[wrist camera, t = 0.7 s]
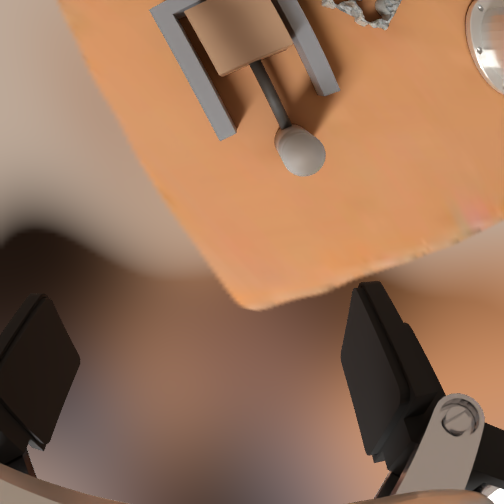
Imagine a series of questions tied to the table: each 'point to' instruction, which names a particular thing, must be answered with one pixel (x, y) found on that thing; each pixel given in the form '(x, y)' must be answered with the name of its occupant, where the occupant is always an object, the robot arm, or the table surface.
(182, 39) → the lane rack
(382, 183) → the table surface
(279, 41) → the tan block with knob
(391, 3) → the grey rough openwork block
